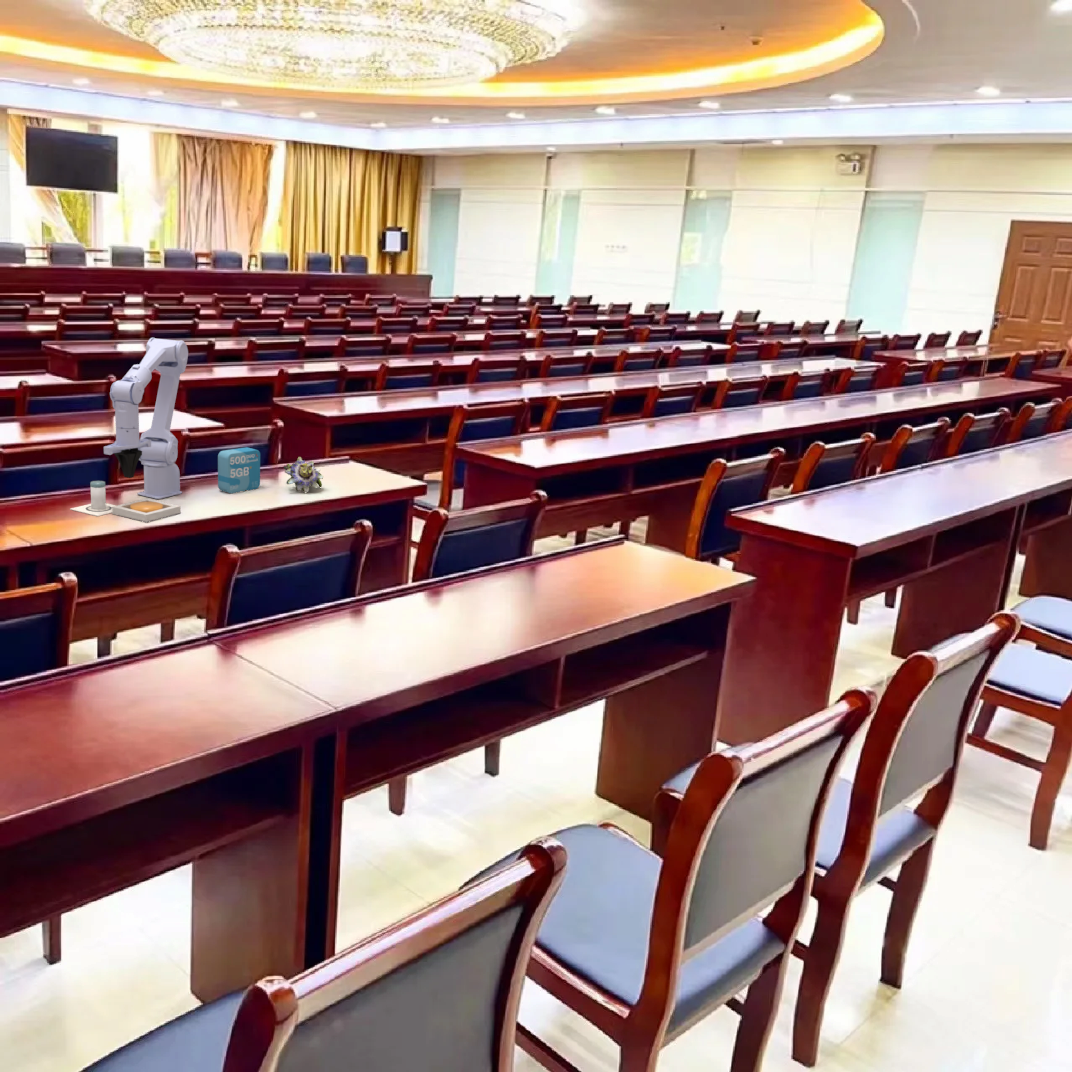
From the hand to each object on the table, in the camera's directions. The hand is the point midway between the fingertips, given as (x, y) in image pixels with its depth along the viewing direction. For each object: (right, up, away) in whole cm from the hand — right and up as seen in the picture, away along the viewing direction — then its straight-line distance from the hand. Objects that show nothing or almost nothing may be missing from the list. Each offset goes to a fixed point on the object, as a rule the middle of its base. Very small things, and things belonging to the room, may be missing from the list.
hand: (128, 477), depth 277 cm
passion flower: (+38, -2, +37) cm, 53 cm away
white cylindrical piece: (-8, -8, 0) cm, 12 cm away
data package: (+21, -2, +31) cm, 37 cm away
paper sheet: (-8, -9, 0) cm, 12 cm away
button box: (+5, -10, -1) cm, 11 cm away
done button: (+5, -9, -1) cm, 10 cm away
